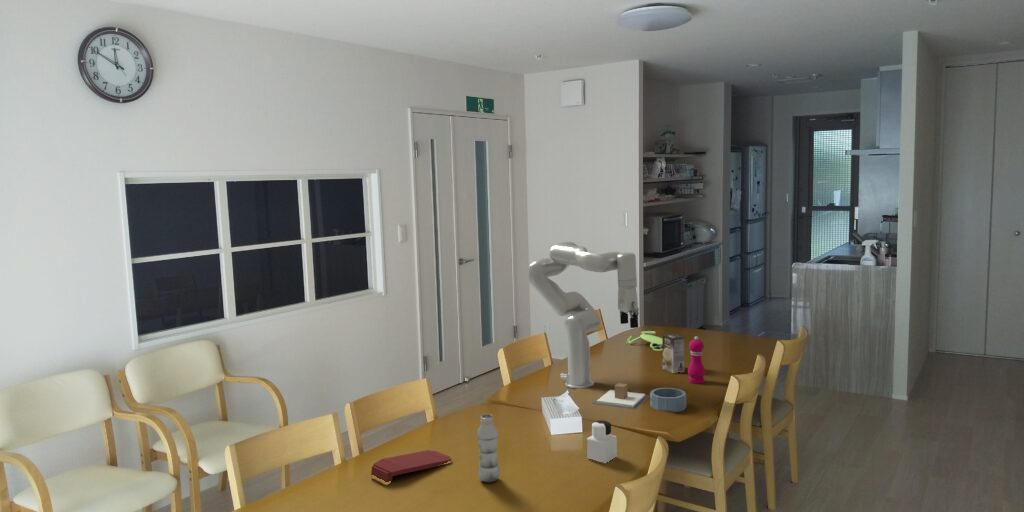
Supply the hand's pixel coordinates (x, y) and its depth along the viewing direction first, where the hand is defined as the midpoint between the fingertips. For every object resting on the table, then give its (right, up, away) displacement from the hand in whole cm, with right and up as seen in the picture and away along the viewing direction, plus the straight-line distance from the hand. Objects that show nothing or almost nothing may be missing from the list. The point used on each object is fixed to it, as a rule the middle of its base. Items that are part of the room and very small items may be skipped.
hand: (629, 325), depth 291 cm
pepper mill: (+32, -26, +18) cm, 45 cm away
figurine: (+25, -19, +86) cm, 92 cm away
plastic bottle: (-54, -40, -73) cm, 100 cm away
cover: (-4, -29, -4) cm, 30 cm away
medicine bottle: (-19, -37, -60) cm, 73 cm away
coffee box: (+26, -24, +37) cm, 51 cm away
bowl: (+13, -30, -13) cm, 35 cm away
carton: (-79, -40, -63) cm, 109 cm away
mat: (-4, -30, -4) cm, 30 cm away
